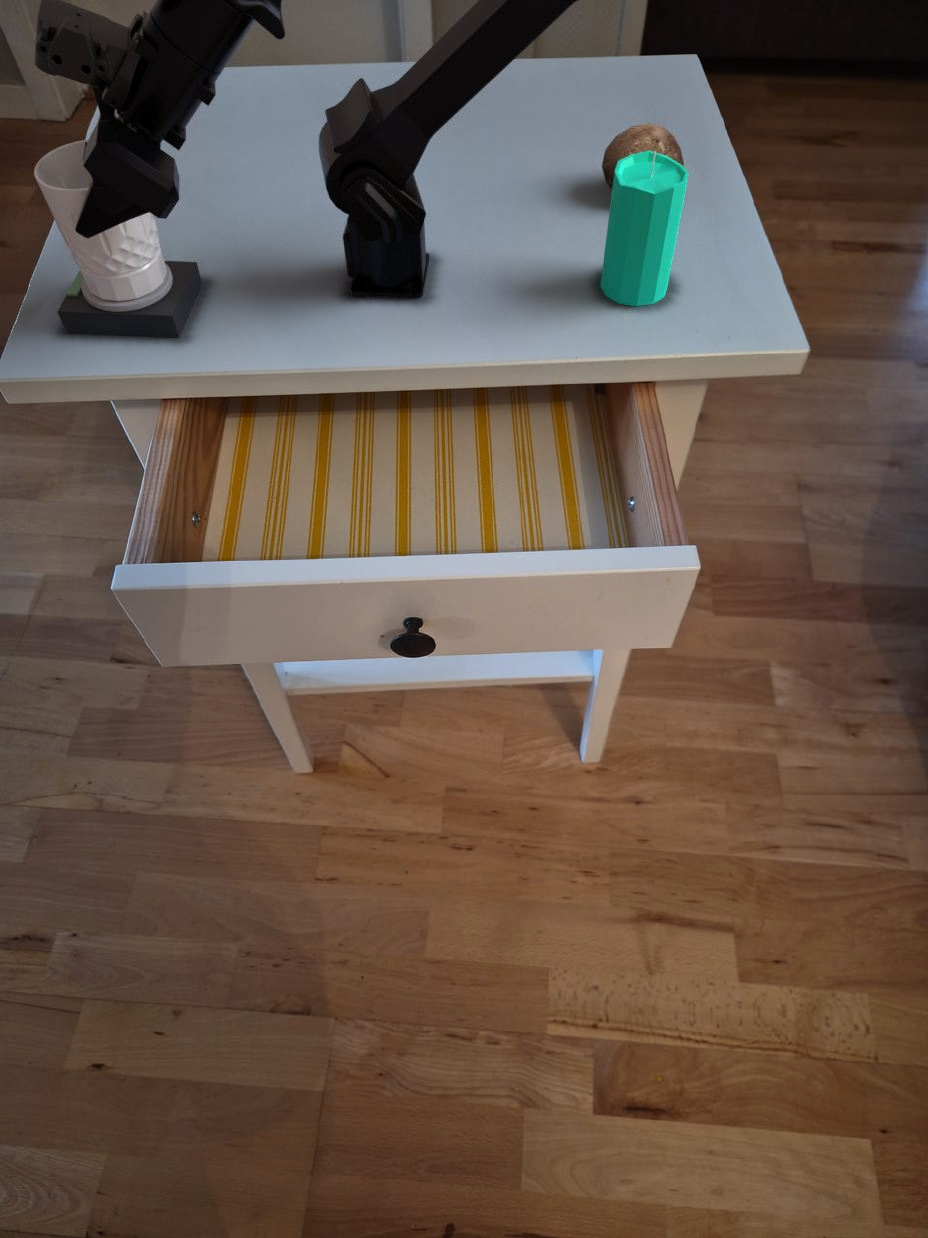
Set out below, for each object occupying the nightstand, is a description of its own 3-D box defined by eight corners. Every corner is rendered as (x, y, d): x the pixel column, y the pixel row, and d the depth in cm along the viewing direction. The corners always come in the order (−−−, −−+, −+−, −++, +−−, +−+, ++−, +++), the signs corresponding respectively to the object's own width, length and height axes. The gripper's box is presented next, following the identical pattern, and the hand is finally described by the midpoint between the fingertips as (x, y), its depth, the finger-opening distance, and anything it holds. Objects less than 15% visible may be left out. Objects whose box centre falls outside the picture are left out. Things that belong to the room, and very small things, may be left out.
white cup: (172, 247, 81) (137, 132, 73) (175, 298, 76) (138, 181, 68) (81, 260, 80) (36, 145, 72) (79, 312, 75) (30, 196, 67)
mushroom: (607, 130, 92) (631, 94, 86) (675, 167, 93) (704, 134, 87) (580, 200, 91) (602, 169, 85) (649, 236, 92) (676, 207, 86)
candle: (598, 266, 83) (614, 132, 73) (664, 267, 83) (688, 133, 73) (602, 306, 80) (619, 170, 70) (670, 306, 79) (697, 171, 70)
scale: (202, 283, 82) (195, 255, 80) (179, 337, 78) (170, 309, 75) (95, 279, 83) (85, 251, 81) (66, 333, 78) (53, 304, 76)
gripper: (85, -94, 65) (-6, 86, 73) (66, 9, 54) (-39, 208, 62) (221, 19, 72) (125, 172, 80) (229, 130, 61) (116, 295, 69)
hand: (84, 207), depth 72 cm, fingers closed on white cup, 7 cm apart
